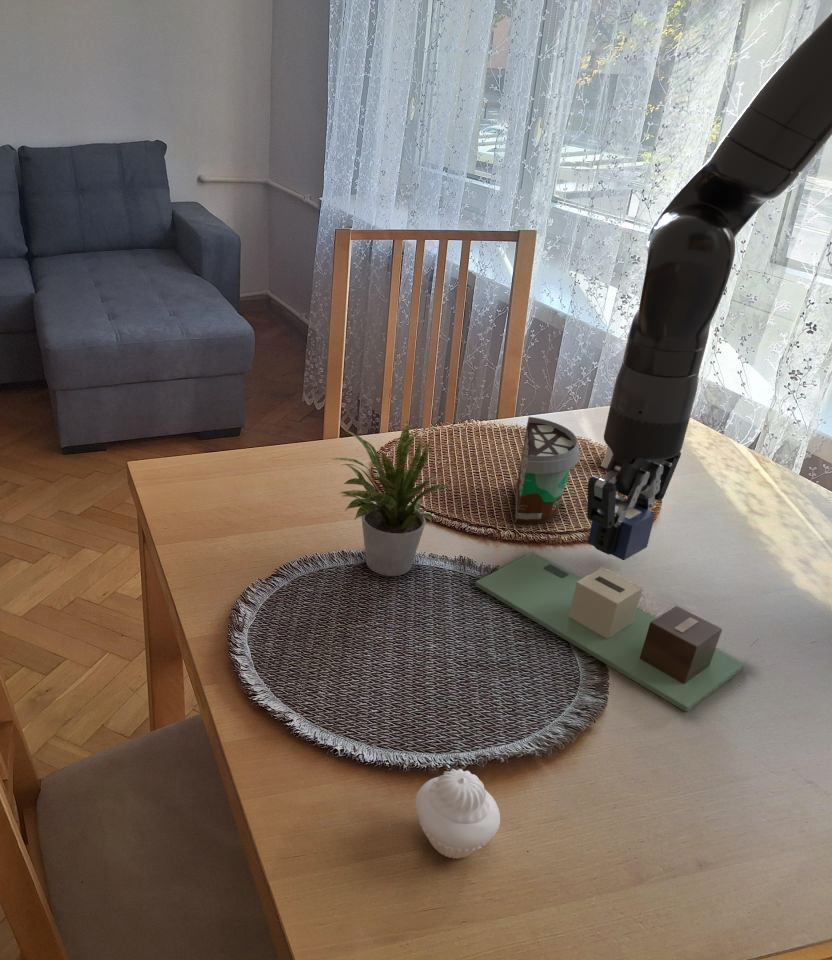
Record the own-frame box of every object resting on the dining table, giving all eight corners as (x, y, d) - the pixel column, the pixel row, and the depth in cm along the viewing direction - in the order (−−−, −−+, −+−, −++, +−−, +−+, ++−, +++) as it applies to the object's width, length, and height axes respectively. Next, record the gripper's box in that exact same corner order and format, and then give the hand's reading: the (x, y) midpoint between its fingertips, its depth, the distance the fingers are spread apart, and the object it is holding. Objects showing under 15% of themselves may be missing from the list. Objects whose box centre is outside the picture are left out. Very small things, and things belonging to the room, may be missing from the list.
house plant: (328, 520, 108) (335, 401, 100) (441, 529, 106) (458, 408, 98) (319, 586, 96) (327, 457, 88) (447, 599, 93) (467, 467, 85)
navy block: (610, 530, 100) (618, 496, 98) (647, 547, 97) (656, 512, 95) (587, 543, 98) (594, 508, 96) (623, 560, 95) (632, 525, 93)
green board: (531, 556, 100) (532, 551, 100) (742, 669, 83) (744, 663, 82) (474, 585, 95) (475, 580, 95) (686, 712, 78) (688, 707, 78)
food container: (569, 537, 104) (585, 464, 99) (515, 529, 105) (528, 457, 100) (565, 488, 114) (580, 420, 109) (516, 482, 115) (528, 414, 111)
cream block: (593, 601, 92) (602, 566, 89) (633, 622, 88) (643, 586, 86) (567, 616, 89) (576, 581, 87) (607, 639, 86) (617, 603, 84)
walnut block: (664, 641, 86) (676, 604, 84) (709, 665, 82) (723, 628, 80) (638, 658, 84) (650, 621, 81) (684, 684, 80) (697, 646, 78)
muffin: (403, 859, 65) (412, 795, 62) (418, 799, 70) (428, 737, 67) (487, 888, 63) (502, 823, 60) (497, 823, 68) (511, 760, 65)
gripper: (645, 436, 83) (610, 580, 91) (723, 399, 90) (684, 536, 98) (576, 411, 89) (549, 549, 97) (655, 378, 95) (623, 510, 104)
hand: (617, 542), depth 97 cm, fingers closed on navy block, 4 cm apart
